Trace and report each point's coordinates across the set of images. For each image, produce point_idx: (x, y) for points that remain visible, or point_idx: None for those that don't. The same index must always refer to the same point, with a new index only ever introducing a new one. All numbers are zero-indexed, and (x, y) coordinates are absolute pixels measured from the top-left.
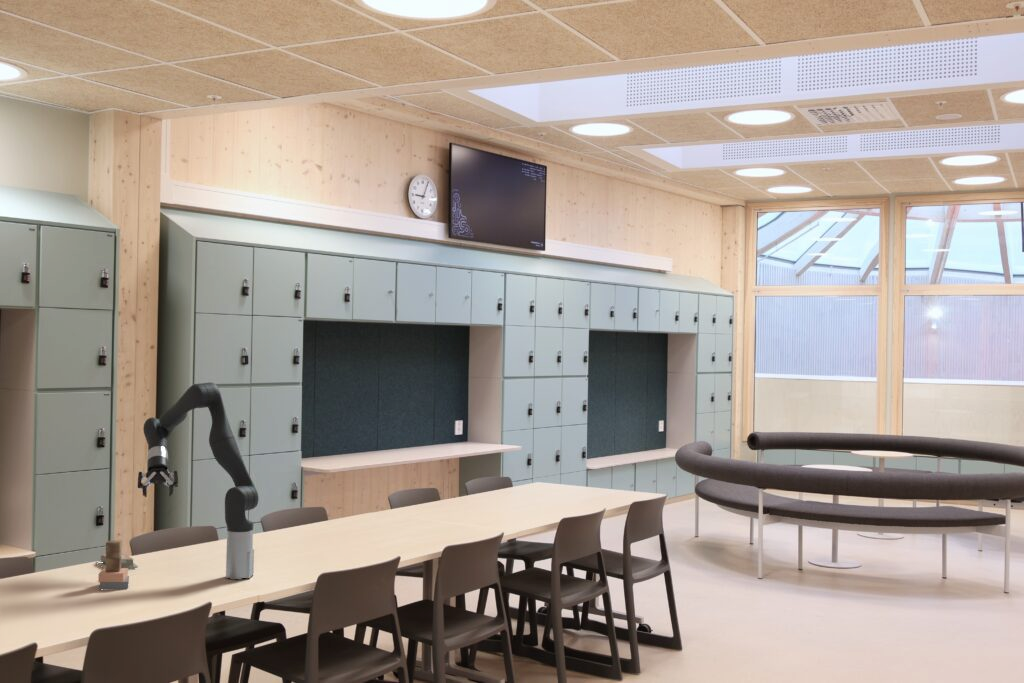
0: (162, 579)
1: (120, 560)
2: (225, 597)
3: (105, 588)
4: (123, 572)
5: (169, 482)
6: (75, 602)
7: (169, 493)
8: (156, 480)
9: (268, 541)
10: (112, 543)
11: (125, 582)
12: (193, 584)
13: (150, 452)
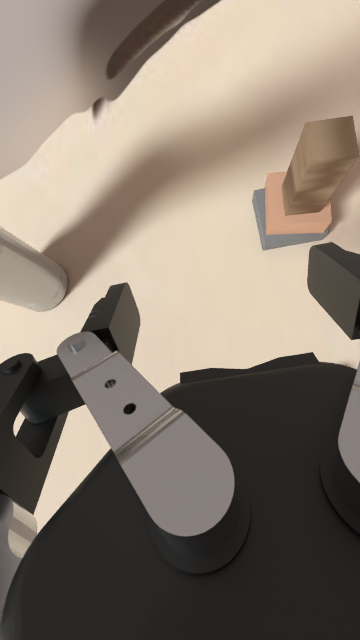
0: (194, 277)
1: (290, 186)
2: (71, 142)
3: None
4: (269, 180)
5: (94, 349)
6: (329, 105)
7: (126, 285)
8: (268, 363)
9: None
10: (328, 122)
11: (259, 190)
12: (128, 231)
13: None
